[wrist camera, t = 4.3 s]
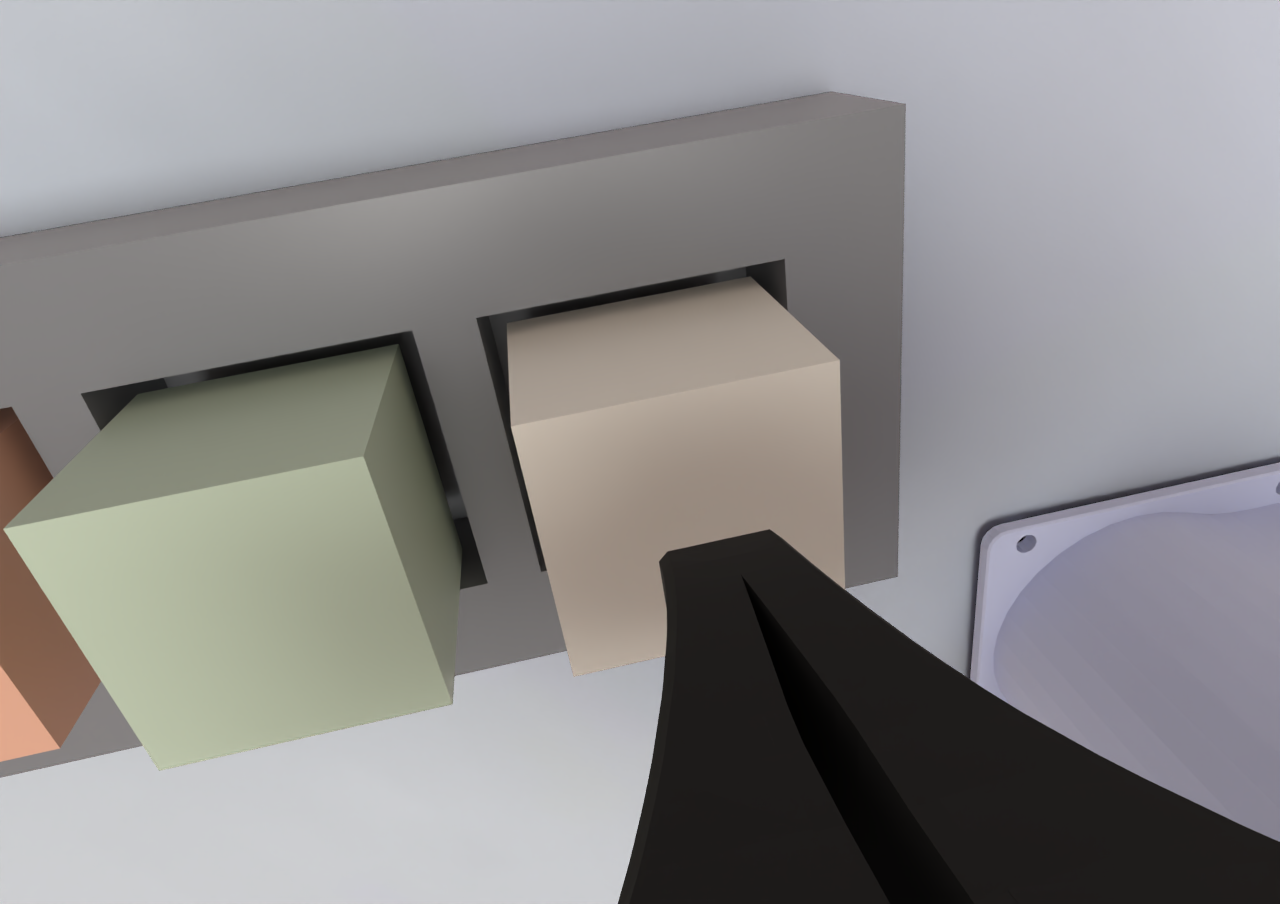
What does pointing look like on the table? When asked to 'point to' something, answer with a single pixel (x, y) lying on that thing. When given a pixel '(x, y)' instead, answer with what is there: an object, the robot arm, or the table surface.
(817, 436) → the ivory key
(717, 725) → the robot arm
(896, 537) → the keypad housing
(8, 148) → the table surface
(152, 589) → the sage key
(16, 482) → the terracotta key
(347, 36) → the table surface
